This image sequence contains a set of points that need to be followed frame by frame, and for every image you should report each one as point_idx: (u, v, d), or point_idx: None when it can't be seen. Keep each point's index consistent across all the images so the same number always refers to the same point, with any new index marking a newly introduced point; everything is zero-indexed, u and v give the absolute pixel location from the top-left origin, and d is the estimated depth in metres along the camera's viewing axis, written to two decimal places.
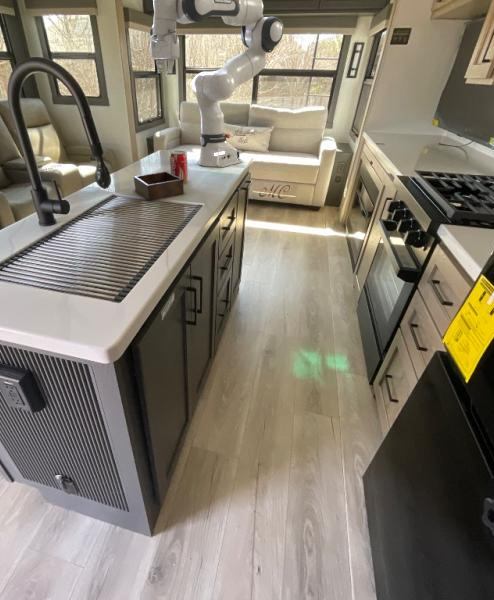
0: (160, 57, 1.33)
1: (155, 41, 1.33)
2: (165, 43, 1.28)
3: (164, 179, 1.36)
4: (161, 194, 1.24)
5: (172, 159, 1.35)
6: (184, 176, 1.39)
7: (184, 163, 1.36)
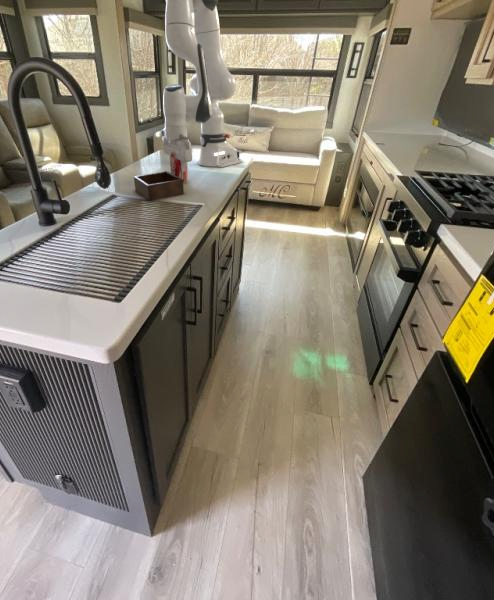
0: None
1: (167, 141, 1.36)
2: (178, 147, 1.30)
3: (164, 179, 1.36)
4: (161, 194, 1.24)
5: (172, 159, 1.35)
6: (184, 176, 1.39)
7: None
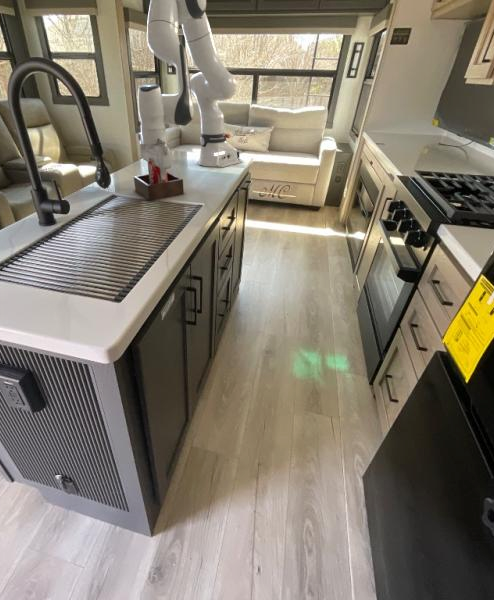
0: None
1: (145, 145, 1.24)
2: (156, 153, 1.19)
3: None
4: (161, 194, 1.24)
5: (150, 166, 1.23)
6: None
7: None
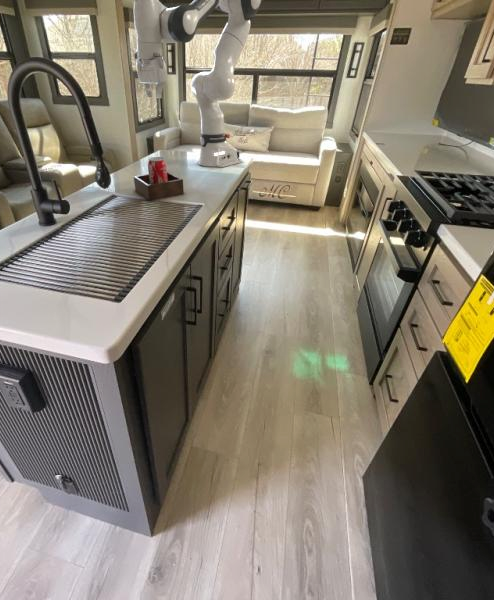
0: (147, 82, 1.25)
1: (141, 65, 1.25)
2: (152, 68, 1.19)
3: None
4: (161, 194, 1.24)
5: (150, 166, 1.23)
6: None
7: (163, 171, 1.24)
